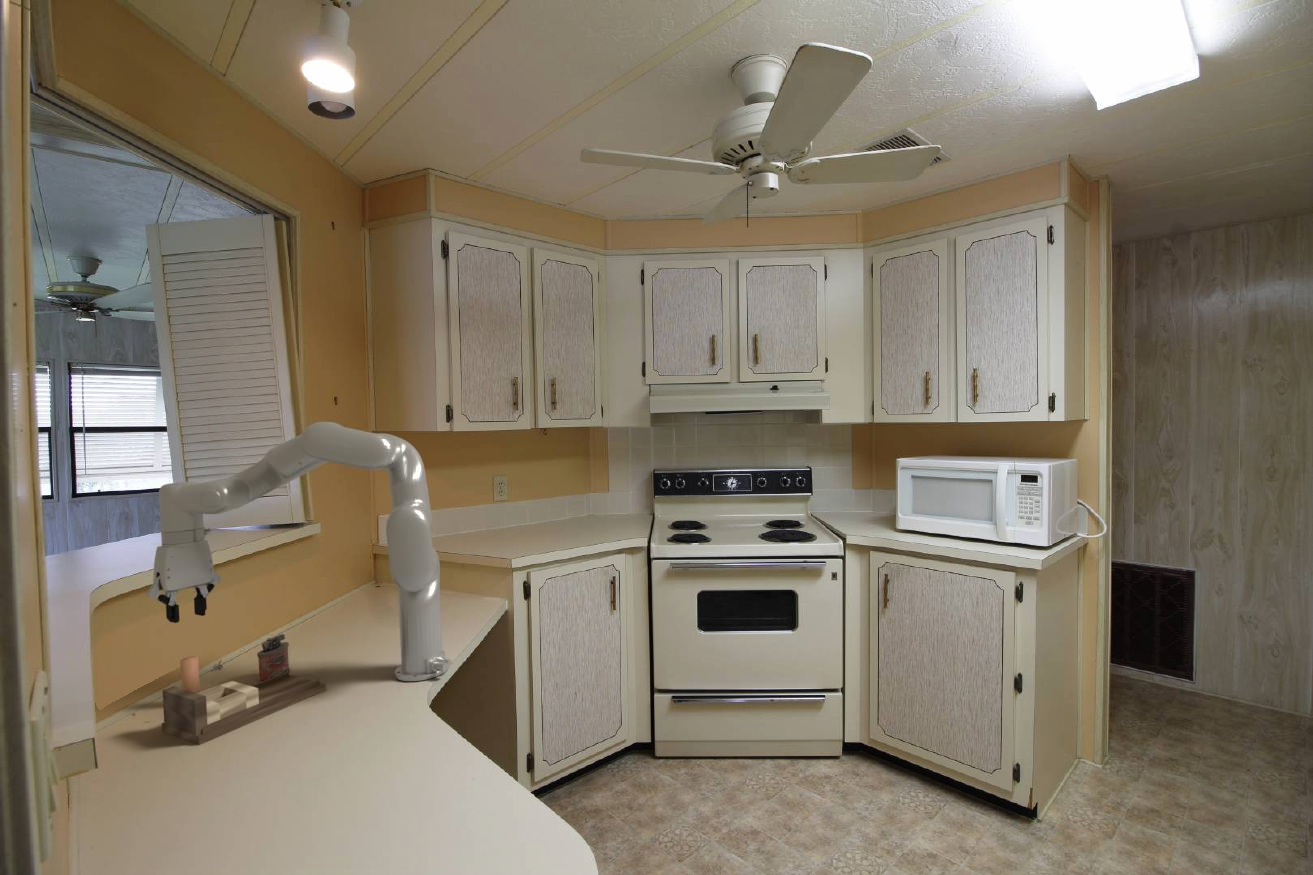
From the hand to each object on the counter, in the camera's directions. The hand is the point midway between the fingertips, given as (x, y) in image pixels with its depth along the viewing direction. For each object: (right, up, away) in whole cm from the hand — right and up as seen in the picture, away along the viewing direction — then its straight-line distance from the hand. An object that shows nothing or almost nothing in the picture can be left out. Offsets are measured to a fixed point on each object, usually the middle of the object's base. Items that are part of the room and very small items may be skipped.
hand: (187, 617), depth 135 cm
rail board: (+17, -19, -4) cm, 25 cm away
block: (+14, -17, -9) cm, 24 cm away
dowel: (+1, -19, 0) cm, 19 cm away
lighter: (+12, -19, +13) cm, 26 cm away
